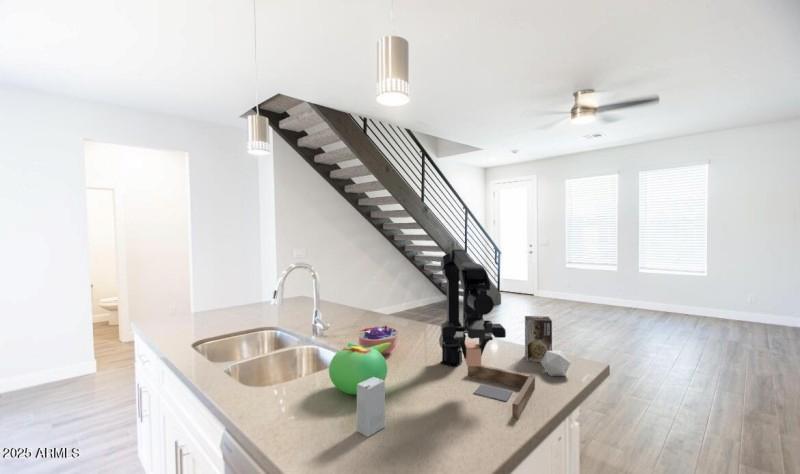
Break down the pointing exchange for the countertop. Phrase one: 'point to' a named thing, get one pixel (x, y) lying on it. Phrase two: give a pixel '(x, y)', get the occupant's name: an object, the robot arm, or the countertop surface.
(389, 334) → the cell model
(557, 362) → the die
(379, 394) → the skincare box
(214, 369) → the countertop surface
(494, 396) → the mat
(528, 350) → the coffee box
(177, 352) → the countertop surface
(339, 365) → the toy bird
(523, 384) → the wooden corner wall
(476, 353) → the block
